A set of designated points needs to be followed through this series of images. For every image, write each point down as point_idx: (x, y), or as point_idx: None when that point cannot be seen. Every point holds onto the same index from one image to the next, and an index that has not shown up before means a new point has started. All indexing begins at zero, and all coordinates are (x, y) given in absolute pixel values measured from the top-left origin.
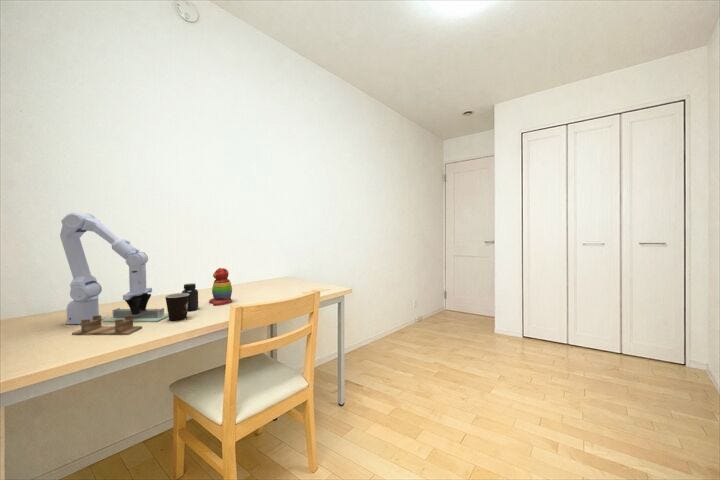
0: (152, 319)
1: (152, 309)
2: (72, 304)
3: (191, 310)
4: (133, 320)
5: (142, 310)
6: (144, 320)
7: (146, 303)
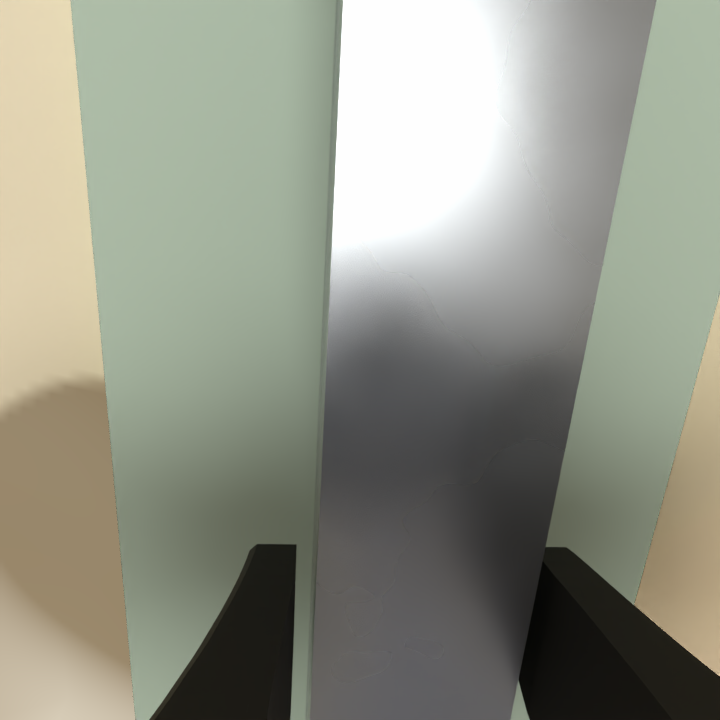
0: (677, 68)
1: (390, 297)
2: None
3: None
4: (654, 478)
5: (489, 535)
6: (716, 239)
7: (215, 710)
